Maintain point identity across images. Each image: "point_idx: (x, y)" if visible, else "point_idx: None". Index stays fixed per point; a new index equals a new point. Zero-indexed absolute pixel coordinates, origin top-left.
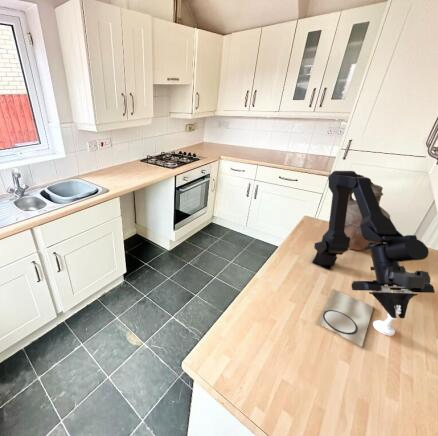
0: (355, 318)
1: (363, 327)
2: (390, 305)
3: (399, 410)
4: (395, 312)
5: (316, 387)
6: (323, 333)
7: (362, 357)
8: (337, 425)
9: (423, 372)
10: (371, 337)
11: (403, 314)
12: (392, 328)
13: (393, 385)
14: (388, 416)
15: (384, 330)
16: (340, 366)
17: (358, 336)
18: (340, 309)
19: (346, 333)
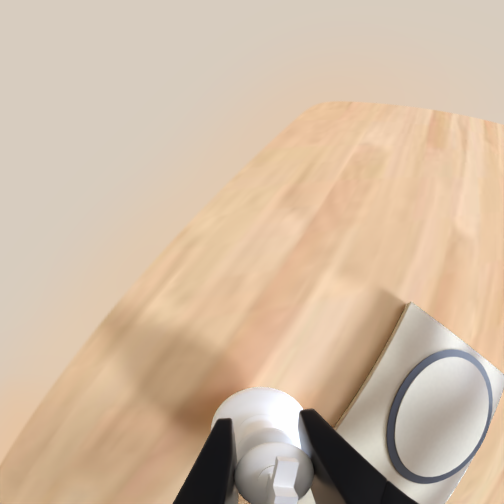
0: None
1: (359, 420)
2: (391, 484)
3: (368, 127)
4: (313, 444)
5: (500, 171)
6: (498, 335)
7: (416, 256)
8: (467, 121)
9: (220, 226)
10: (341, 372)
11: (225, 441)
12: None
13: (357, 174)
14: (394, 121)
15: (283, 405)
16: (471, 217)
17: (407, 352)
18: None
19: (447, 352)
